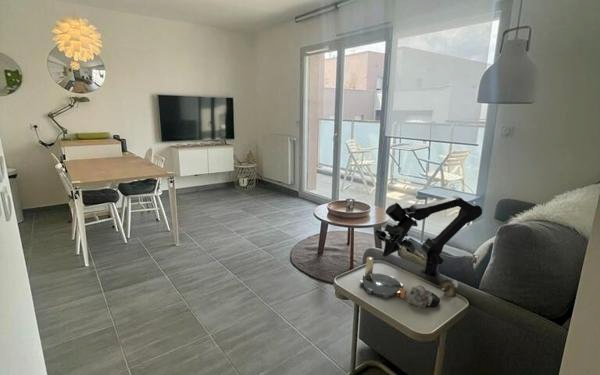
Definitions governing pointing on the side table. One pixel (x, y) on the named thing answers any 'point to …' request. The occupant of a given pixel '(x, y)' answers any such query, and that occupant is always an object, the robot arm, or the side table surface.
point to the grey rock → (422, 297)
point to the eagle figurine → (448, 287)
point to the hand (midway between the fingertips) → (383, 256)
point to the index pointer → (403, 293)
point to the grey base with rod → (379, 282)
